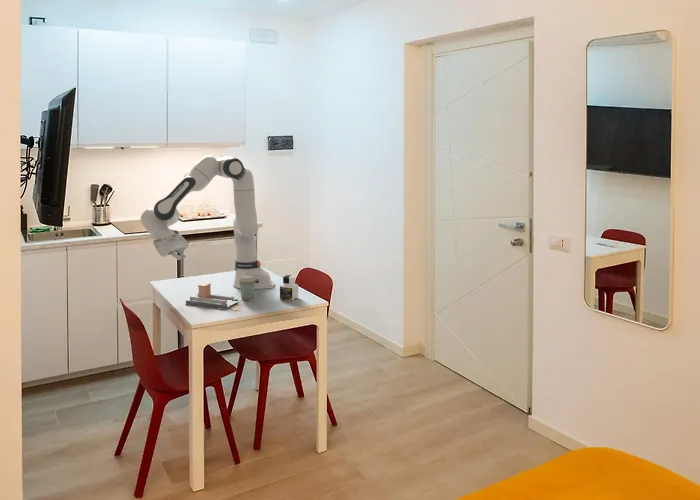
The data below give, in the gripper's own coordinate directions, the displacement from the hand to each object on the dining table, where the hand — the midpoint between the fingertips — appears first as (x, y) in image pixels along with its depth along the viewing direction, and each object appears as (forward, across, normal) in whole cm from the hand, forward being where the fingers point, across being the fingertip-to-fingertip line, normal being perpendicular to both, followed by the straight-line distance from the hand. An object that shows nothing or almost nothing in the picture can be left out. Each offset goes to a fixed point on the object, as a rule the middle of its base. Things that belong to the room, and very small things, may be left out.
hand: (182, 258), depth 309 cm
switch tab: (+22, 0, +5) cm, 23 cm away
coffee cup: (+36, +14, -5) cm, 38 cm away
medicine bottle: (+49, +23, -18) cm, 57 cm away
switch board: (+27, 0, +4) cm, 27 cm away
